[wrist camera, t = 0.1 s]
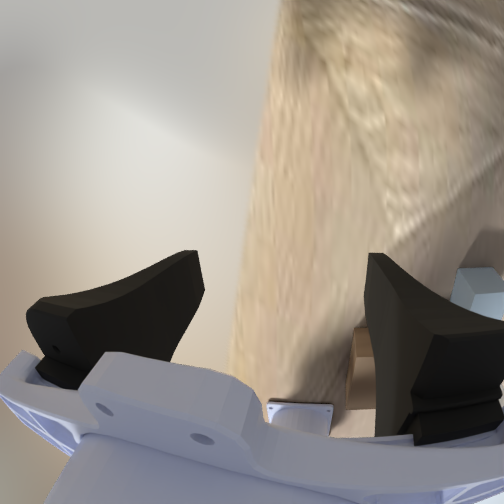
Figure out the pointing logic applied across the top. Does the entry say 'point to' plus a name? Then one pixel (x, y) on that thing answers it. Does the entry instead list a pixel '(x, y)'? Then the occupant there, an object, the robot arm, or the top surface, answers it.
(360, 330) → the walnut block
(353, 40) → the top surface
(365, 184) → the top surface
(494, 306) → the slate-blue cube
